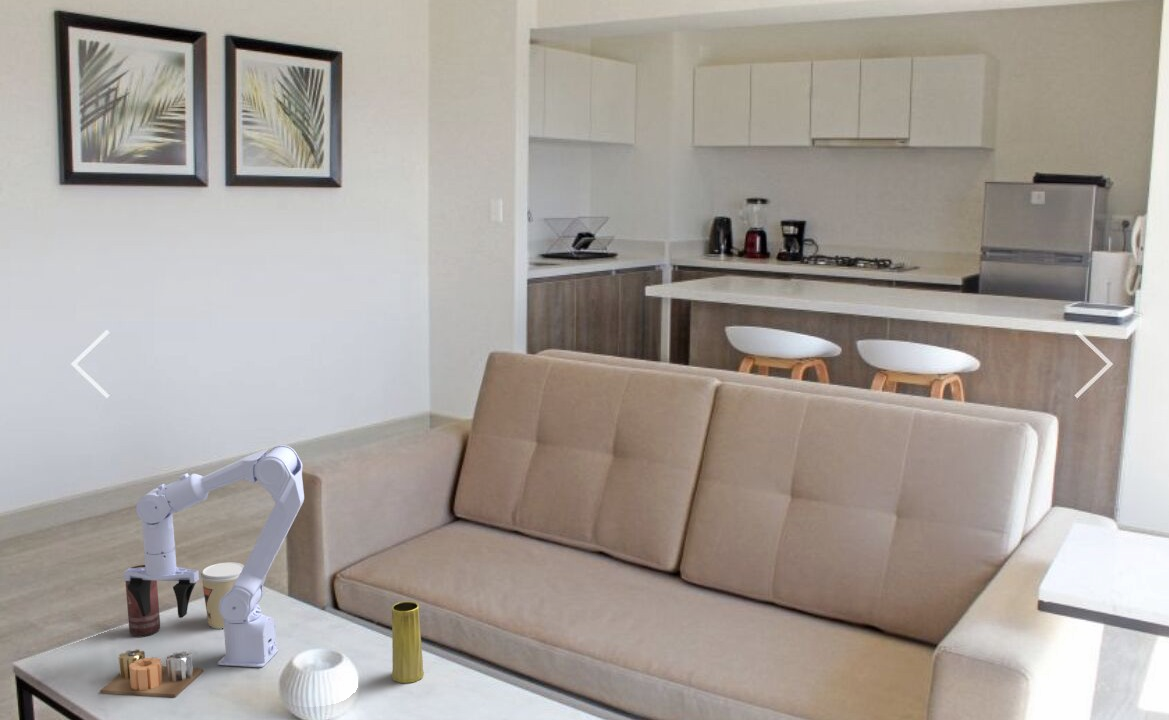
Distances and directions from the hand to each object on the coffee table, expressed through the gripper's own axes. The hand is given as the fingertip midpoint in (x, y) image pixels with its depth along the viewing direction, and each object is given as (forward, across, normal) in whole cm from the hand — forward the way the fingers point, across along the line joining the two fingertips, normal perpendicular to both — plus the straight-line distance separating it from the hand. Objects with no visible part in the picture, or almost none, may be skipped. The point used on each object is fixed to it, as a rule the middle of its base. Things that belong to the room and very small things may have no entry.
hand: (164, 615), depth 215 cm
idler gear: (+9, -2, +12) cm, 15 cm away
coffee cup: (+10, -4, -19) cm, 22 cm away
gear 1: (+9, +3, +8) cm, 13 cm away
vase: (+10, -50, +3) cm, 51 cm away
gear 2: (+9, -7, +8) cm, 14 cm away
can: (+10, +12, -13) cm, 20 cm away
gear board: (+9, -2, +10) cm, 14 cm away
